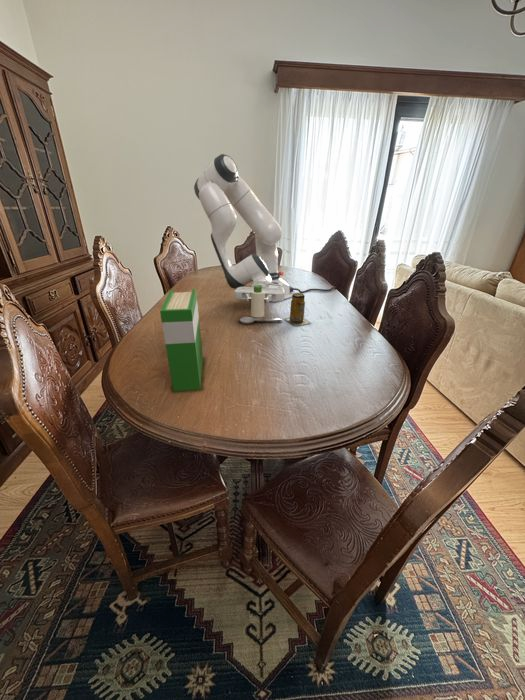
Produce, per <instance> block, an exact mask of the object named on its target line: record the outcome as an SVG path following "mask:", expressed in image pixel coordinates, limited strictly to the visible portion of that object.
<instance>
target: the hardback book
mask: <svg viewBox="0 0 525 700" xmlns="http://www.w3.org/2000/svg"><path fill="white" fill-rule="evenodd" d="M197 295H198V294H197V289H196V288H193V289H192V291H183V292H175V290H174V289H169V292H168V293H167V296H166V298H165V300H164V302H163V304H162V306H161V308H160V310H159V313H160V319H161V325H162V332H163V336H164V337H163V338H164V343H165V349H166V355H167V360H168V361H167V362H168V367H169V372H170V378H171V383H172V384H171V385H172V391H173V392H185V391H186V392H187V391H199V390H201V388H202V375H203V363H204V356H203V347H202V346H203V345H202V335H201V325H200V315H199V305H198V296H197Z"/></svg>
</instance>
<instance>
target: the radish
mask: <svg viewBox="0 0 525 700" xmlns="http://www.w3.org/2000/svg"><path fill="white" fill-rule="evenodd" d="M264 298H265V291H263V290H262V286H260V285H255V286H254V290H252V291H251V302H250V316H251V317H252V318H263V317H265V303H264Z"/></svg>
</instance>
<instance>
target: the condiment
mask: <svg viewBox="0 0 525 700" xmlns="http://www.w3.org/2000/svg"><path fill="white" fill-rule="evenodd" d="M305 297H306V295H305V294H304V293H300V292H295V293H294V292H293V295H292V297H291V300H290V308H289V309H290V312H289V318H285V320H286V321H287V322H289V323H290V324H292V325H294V326H303V325H308V324H310V322H308V321H307V320H305V319H304V317H305V308H306V301H305Z"/></svg>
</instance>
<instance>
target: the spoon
mask: <svg viewBox="0 0 525 700" xmlns="http://www.w3.org/2000/svg"><path fill="white" fill-rule="evenodd" d="M282 321H283V320H282V318H255V317H253V316H251V317H250V316H242V317H241V318H240V319H239V323H240V324H242V325H252V324H254V323H282Z"/></svg>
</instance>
